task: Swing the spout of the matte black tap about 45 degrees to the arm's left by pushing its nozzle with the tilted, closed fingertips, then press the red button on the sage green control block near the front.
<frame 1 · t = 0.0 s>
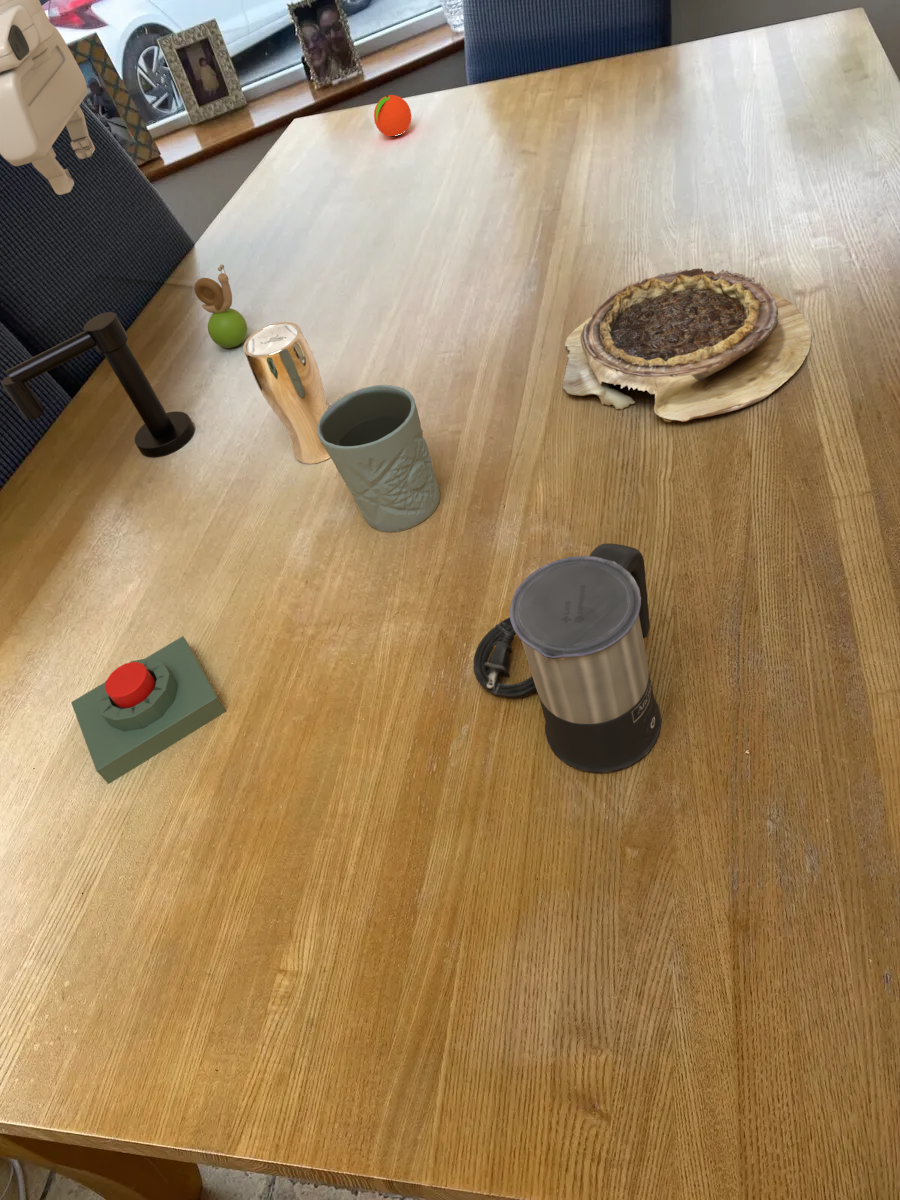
hand: (77, 172, 100), 33 cm above the table, tool pointing down, fingers open, 8 cm apart
embossed green cup: (400, 506, 101), on the table
beer glass: (319, 449, 112), on the table
snail figurine: (238, 345, 135), on the table
pie: (682, 352, 107), on the table
clementine: (396, 137, 176), on the table
button: (130, 684, 85), point 4 cm above the table, slide at 0.1 cm
spout: (70, 366, 111), point 14 cm above the table, hinge at 0.0°
milk frother: (565, 703, 78), on the table
control block: (153, 713, 89), on the table
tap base: (167, 438, 122), on the table
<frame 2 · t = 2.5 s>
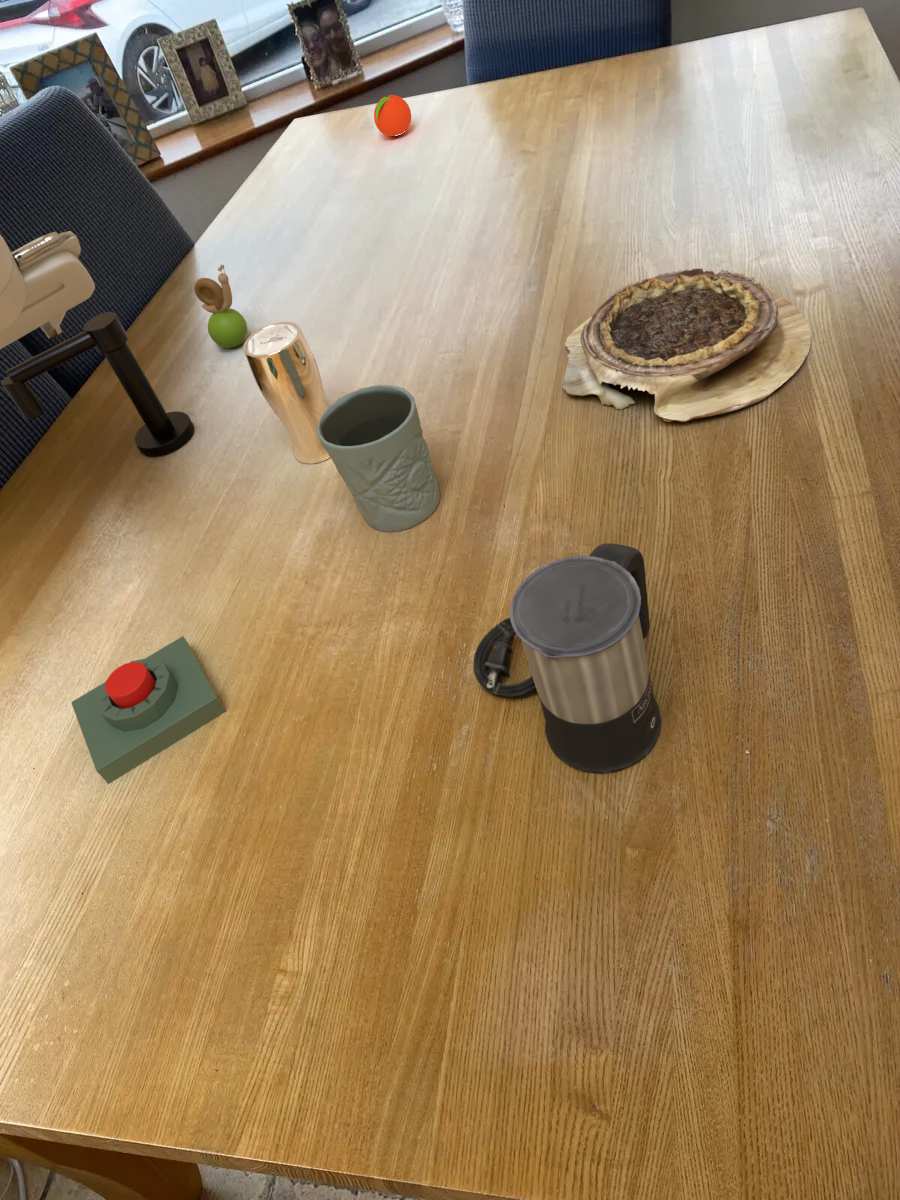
hand: (10, 354, 94), 24 cm above the table, tool tilted 40°, fingers open, 8 cm apart
nothing on the table moved.
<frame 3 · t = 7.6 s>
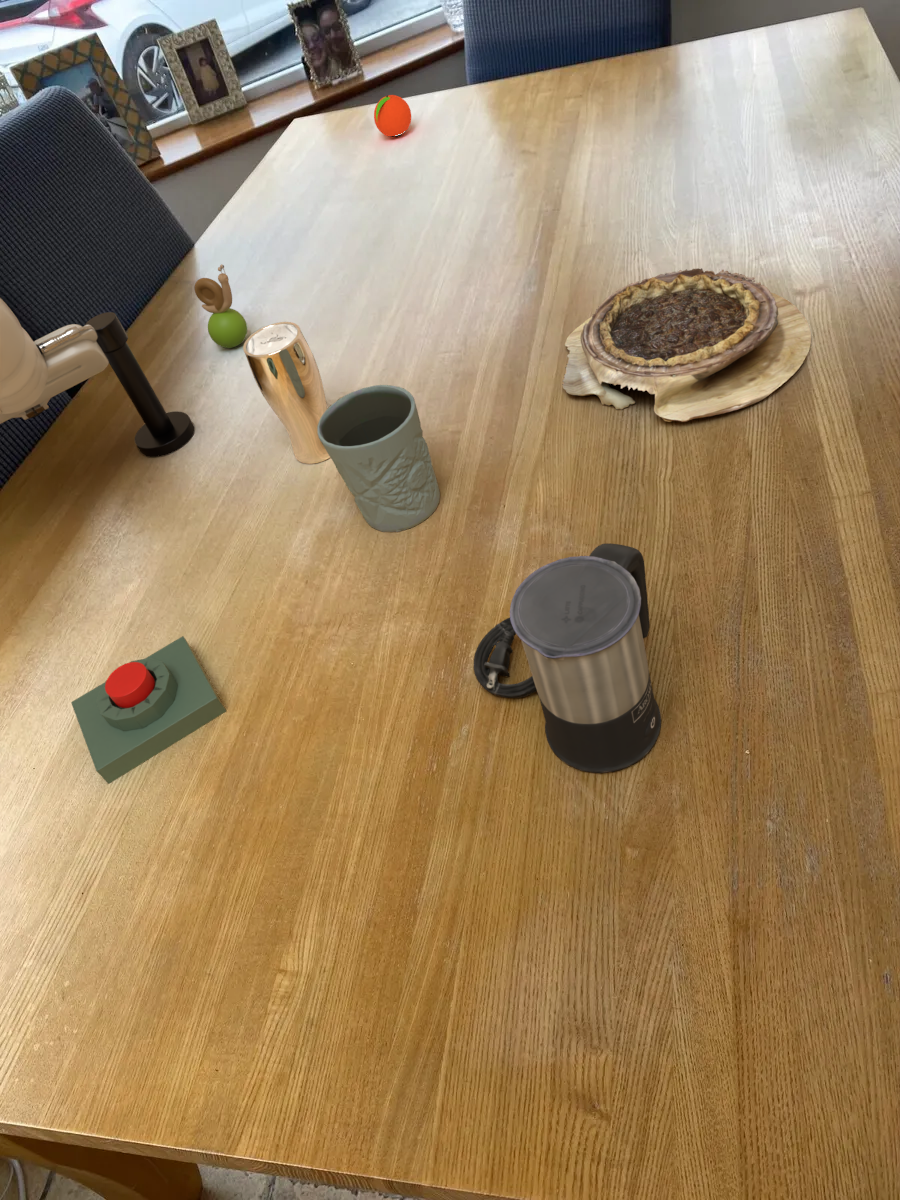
hand: (33, 408, 110), 12 cm above the table, tool tilted 45°, fingers closed, pressing on spout
spout: (69, 366, 111), point 14 cm above the table, hinge at 1.9°, touching gripper
everything else where it was.
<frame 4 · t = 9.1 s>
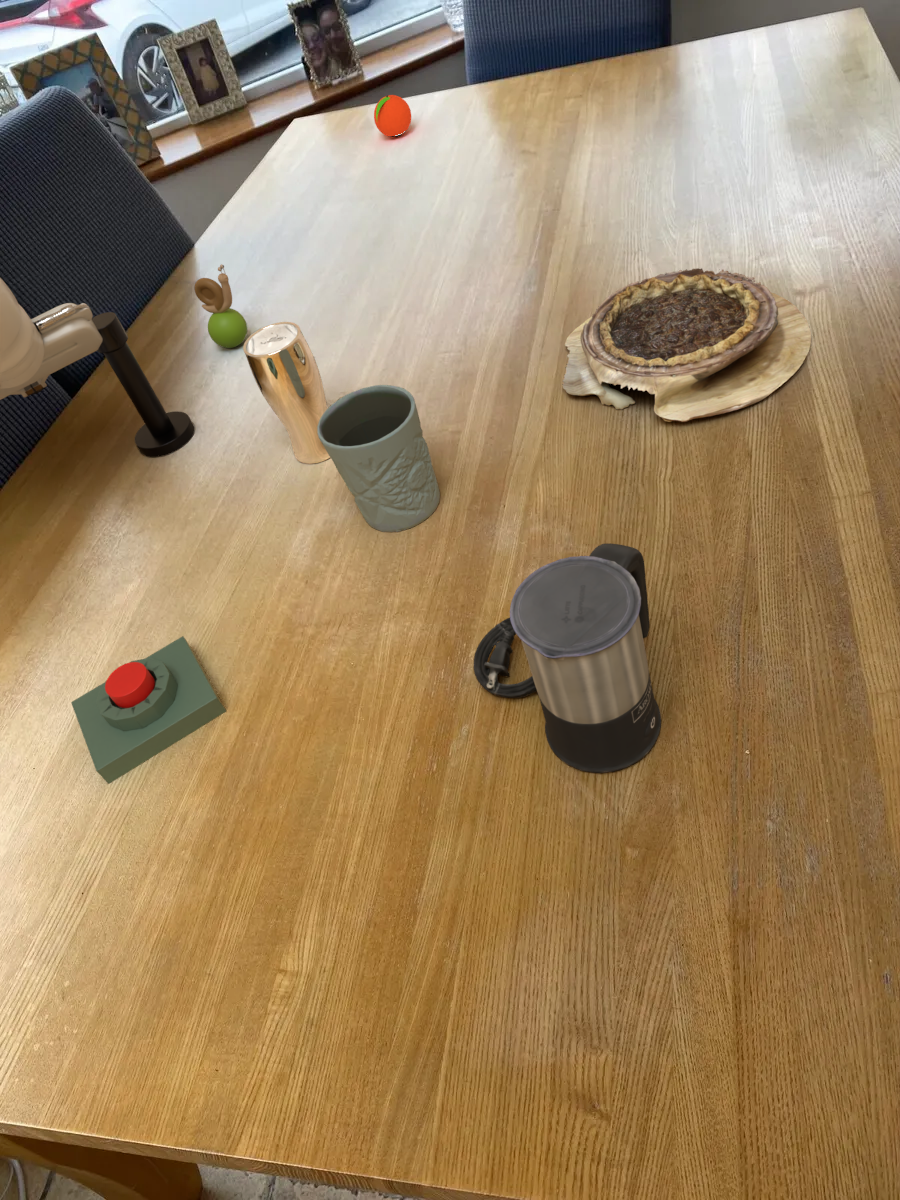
hand: (32, 386, 114), 12 cm above the table, tool tilted 45°, fingers closed, pressing on spout
spout: (70, 355, 113), point 14 cm above the table, hinge at 29.7°, touching gripper
everything else where it was.
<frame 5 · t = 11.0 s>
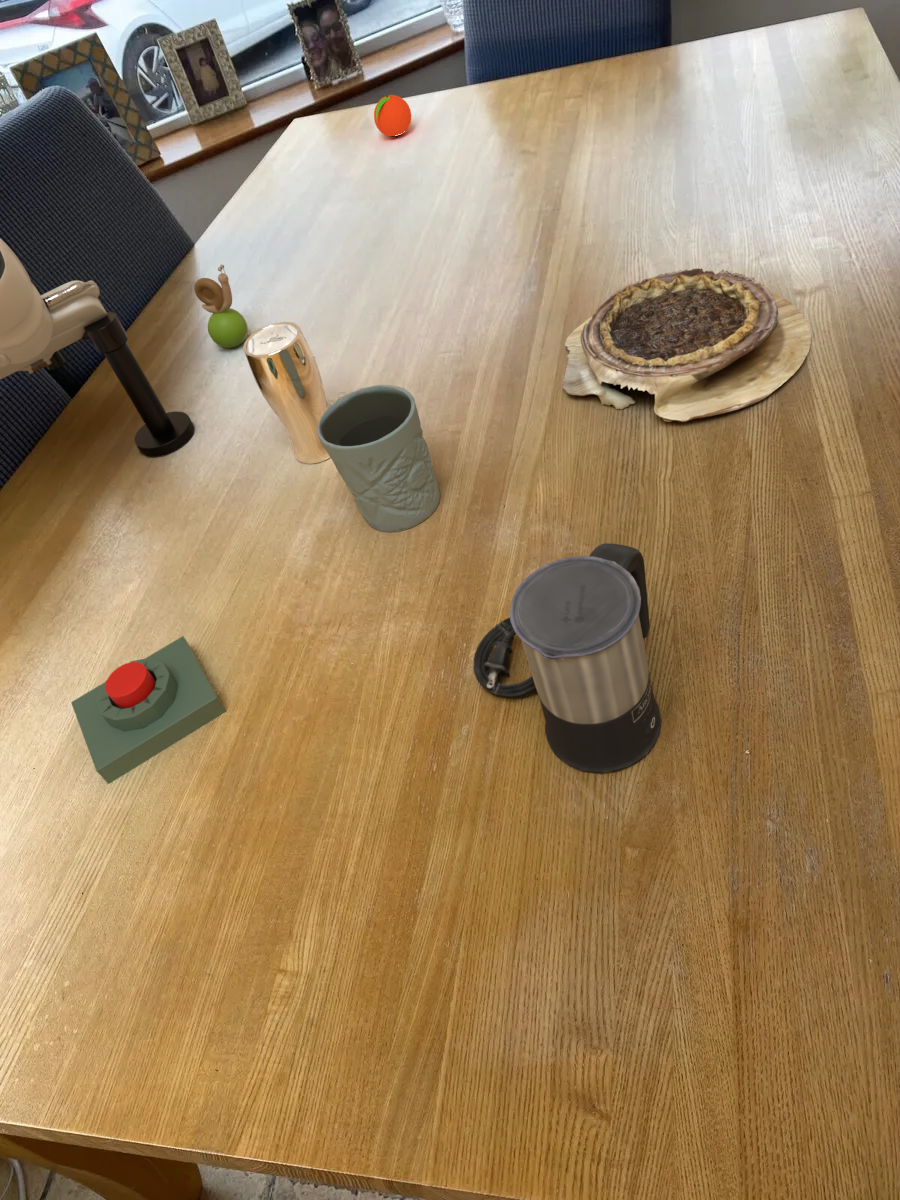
hand: (37, 363, 116), 13 cm above the table, tool tilted 45°, fingers closed
spout: (79, 344, 115), point 14 cm above the table, hinge at 54.7°
everything else where it was.
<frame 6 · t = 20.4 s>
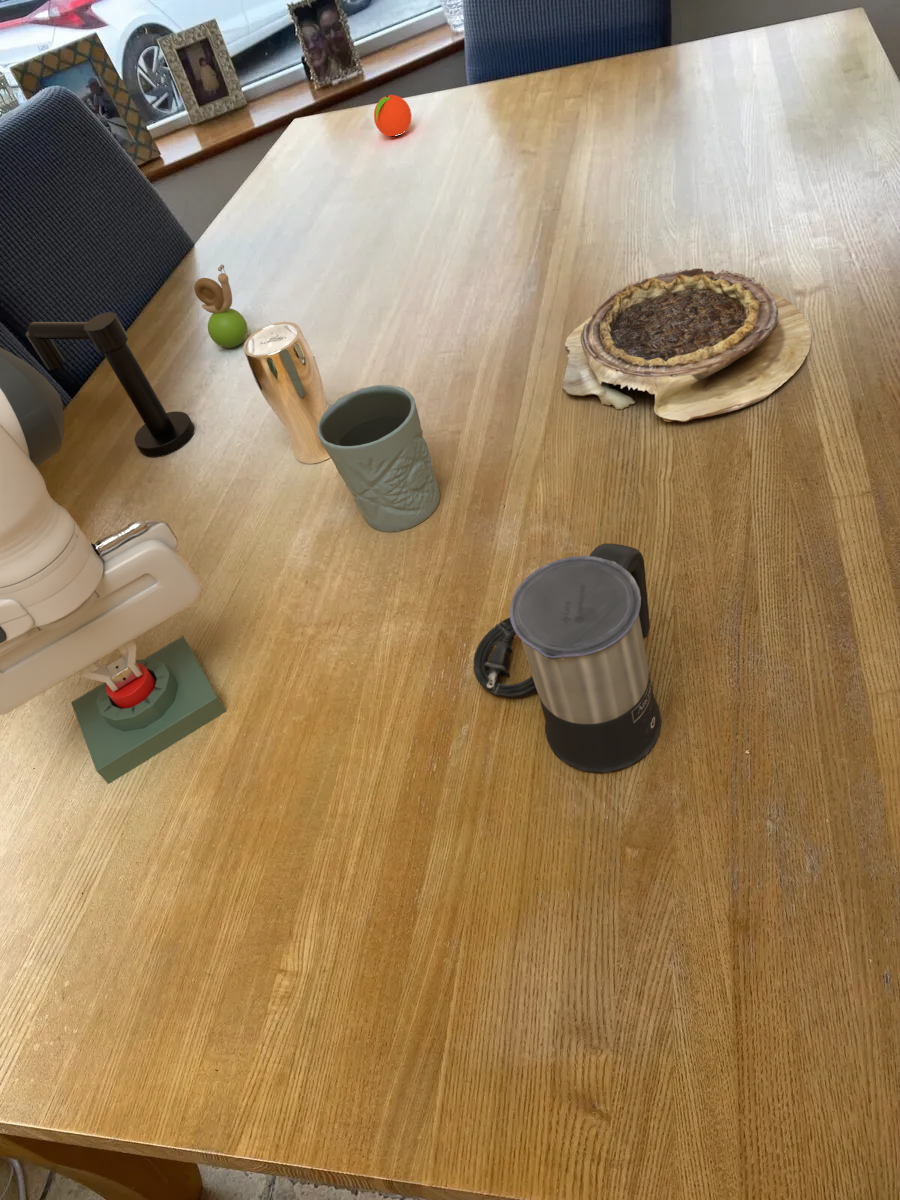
hand: (126, 679, 85), 5 cm above the table, tool pointing down, fingers closed, pressing on button
button: (130, 685, 86), point 4 cm above the table, slide at -0.1 cm, touching gripper
everything else where it was.
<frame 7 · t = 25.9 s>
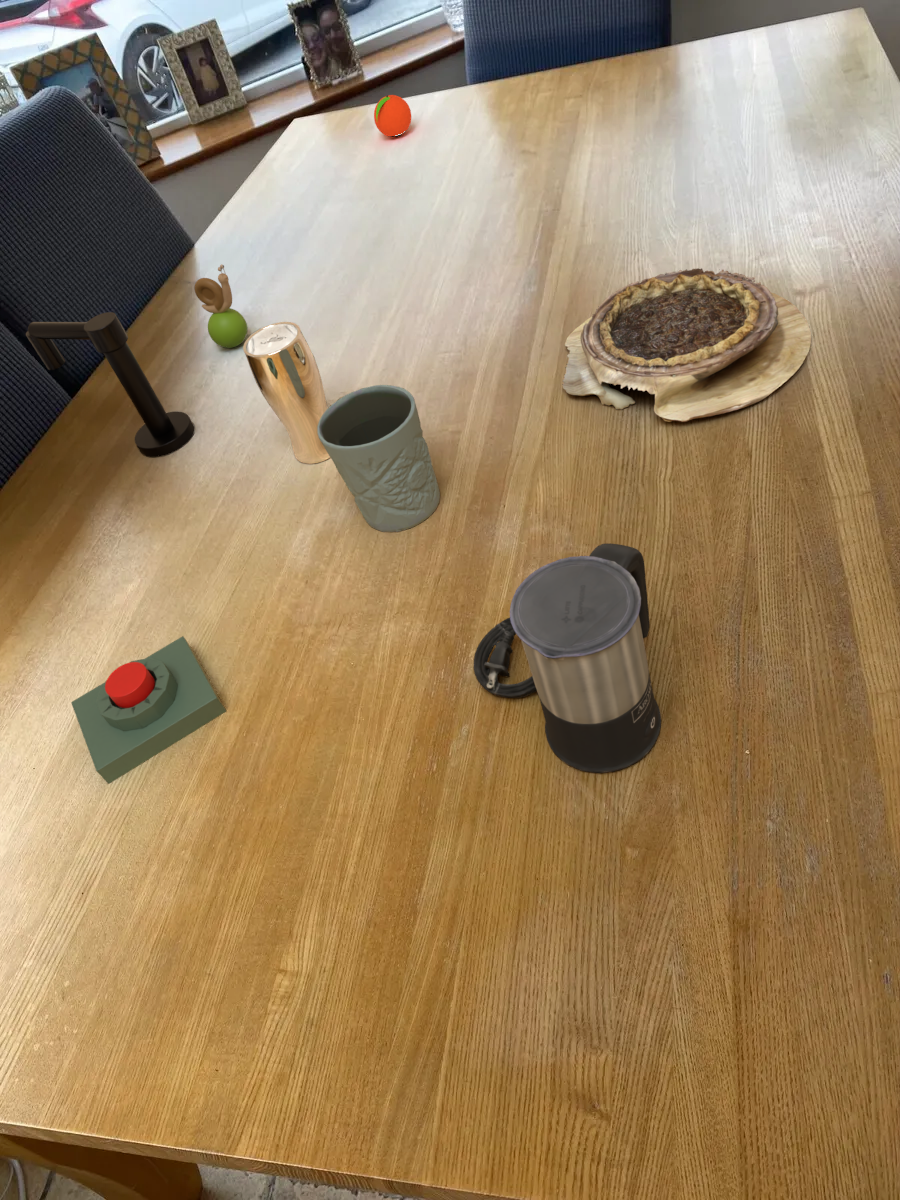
button: (130, 684, 85), point 4 cm above the table, slide at 0.1 cm
everything else where it was.
at the end: spout at +55° (first picture: +0°); button pushed in 1.0 cm at the most during the clip, back to where it started at the end; button slide at 0.1 cm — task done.
